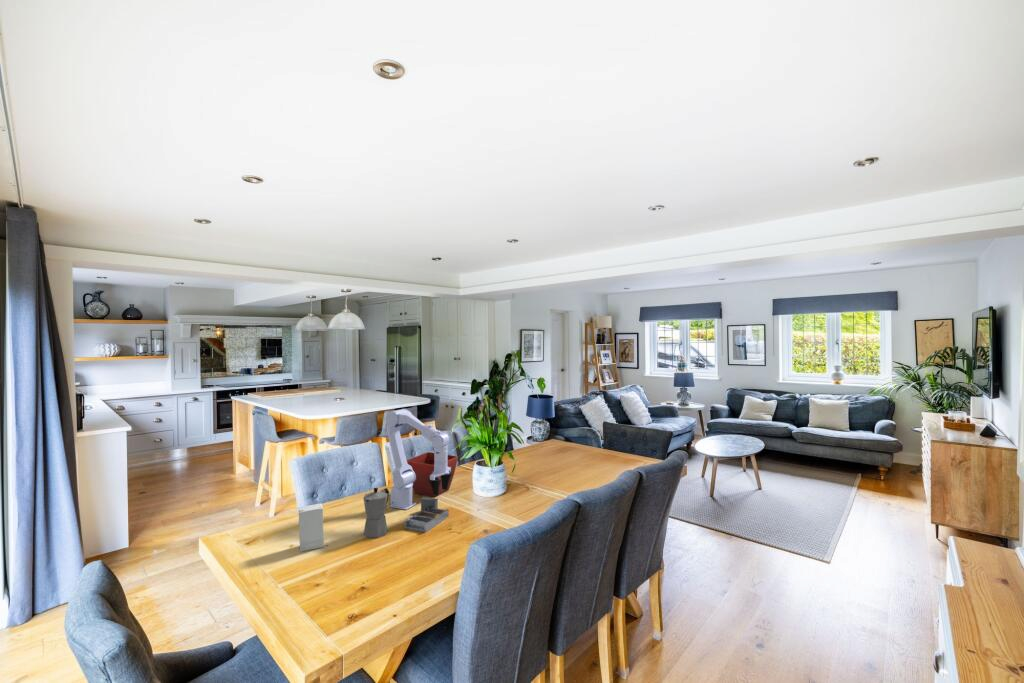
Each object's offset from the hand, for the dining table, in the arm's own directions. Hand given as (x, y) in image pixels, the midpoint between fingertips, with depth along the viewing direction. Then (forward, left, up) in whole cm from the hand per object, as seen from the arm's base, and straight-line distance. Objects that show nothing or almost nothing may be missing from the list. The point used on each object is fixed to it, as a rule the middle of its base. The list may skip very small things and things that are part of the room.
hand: (440, 491), depth 203 cm
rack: (0, -11, -10) cm, 14 cm away
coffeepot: (-13, -27, -10) cm, 31 cm away
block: (-5, -1, -10) cm, 11 cm away
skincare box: (-27, -47, -10) cm, 55 cm away
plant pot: (-19, +23, -10) cm, 31 cm away
